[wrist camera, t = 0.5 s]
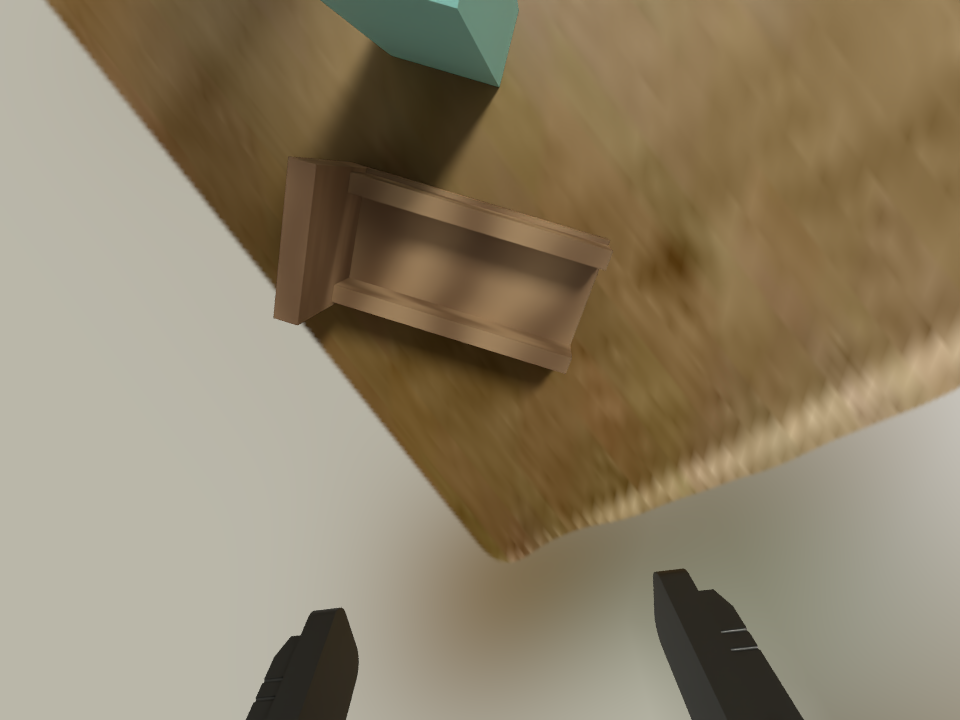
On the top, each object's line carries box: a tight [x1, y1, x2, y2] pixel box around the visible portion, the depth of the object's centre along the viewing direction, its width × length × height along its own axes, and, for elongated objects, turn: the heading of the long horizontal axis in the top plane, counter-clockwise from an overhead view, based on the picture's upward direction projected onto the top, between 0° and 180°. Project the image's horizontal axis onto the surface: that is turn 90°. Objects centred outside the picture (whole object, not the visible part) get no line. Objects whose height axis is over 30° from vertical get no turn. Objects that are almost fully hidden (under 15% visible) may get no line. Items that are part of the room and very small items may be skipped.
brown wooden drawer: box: [274, 157, 613, 374], centre depth 28 cm, size 18×9×8 cm, turn 74°
